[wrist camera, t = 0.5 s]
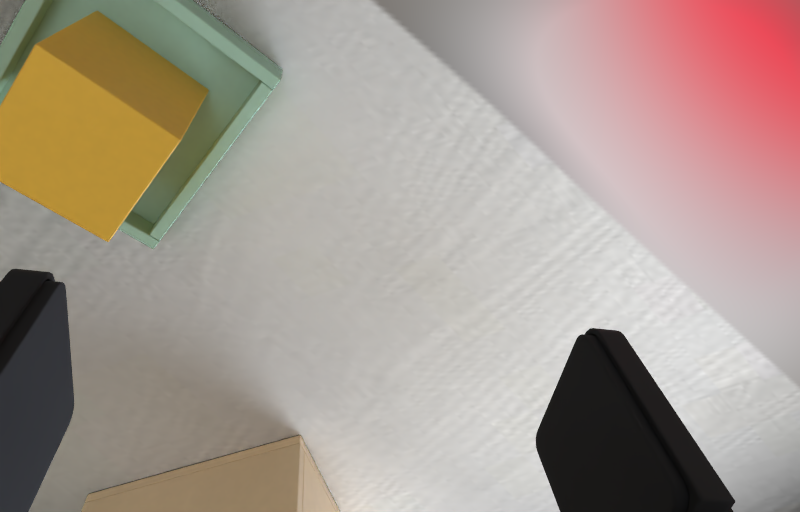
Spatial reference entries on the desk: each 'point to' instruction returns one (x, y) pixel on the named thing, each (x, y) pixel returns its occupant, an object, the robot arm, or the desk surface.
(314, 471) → the sand bin
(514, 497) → the desk surface
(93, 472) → the desk surface
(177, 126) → the mustard box
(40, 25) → the green tray
